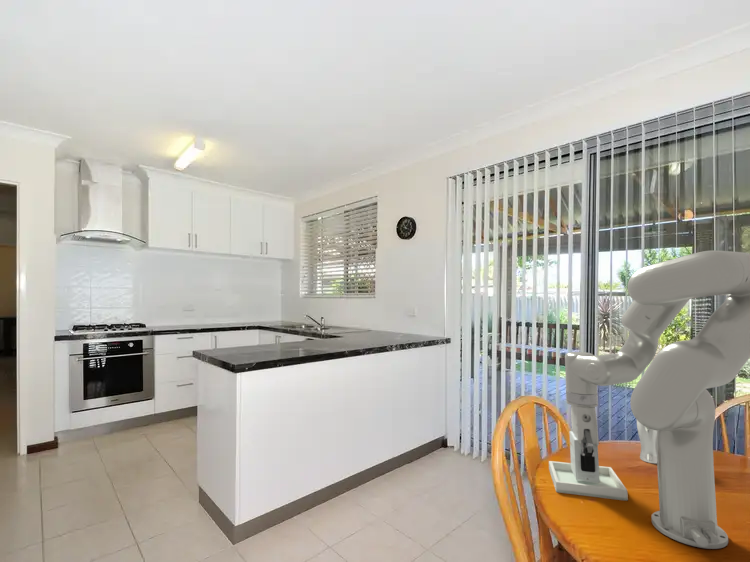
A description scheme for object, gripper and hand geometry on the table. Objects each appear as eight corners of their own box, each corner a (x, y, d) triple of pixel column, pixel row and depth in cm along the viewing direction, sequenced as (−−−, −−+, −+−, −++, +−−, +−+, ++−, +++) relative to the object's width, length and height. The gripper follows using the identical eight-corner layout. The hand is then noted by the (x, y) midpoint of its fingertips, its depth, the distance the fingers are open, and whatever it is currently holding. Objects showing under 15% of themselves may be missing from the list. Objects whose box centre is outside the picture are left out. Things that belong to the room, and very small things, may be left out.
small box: (600, 484, 99) (598, 441, 100) (575, 481, 101) (574, 439, 102) (593, 471, 107) (591, 432, 107) (570, 468, 109) (569, 430, 109)
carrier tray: (627, 500, 95) (627, 490, 95) (556, 492, 99) (555, 482, 100) (611, 476, 108) (611, 467, 108) (549, 469, 113) (548, 460, 113)
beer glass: (671, 464, 115) (669, 413, 116) (648, 465, 116) (645, 413, 116) (655, 455, 122) (652, 407, 123) (633, 455, 122) (630, 407, 123)
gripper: (606, 407, 96) (609, 480, 95) (589, 392, 112) (592, 453, 111) (572, 405, 98) (575, 476, 97) (561, 390, 115) (563, 451, 113)
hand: (584, 464), depth 104 cm, fingers closed on small box, 8 cm apart
